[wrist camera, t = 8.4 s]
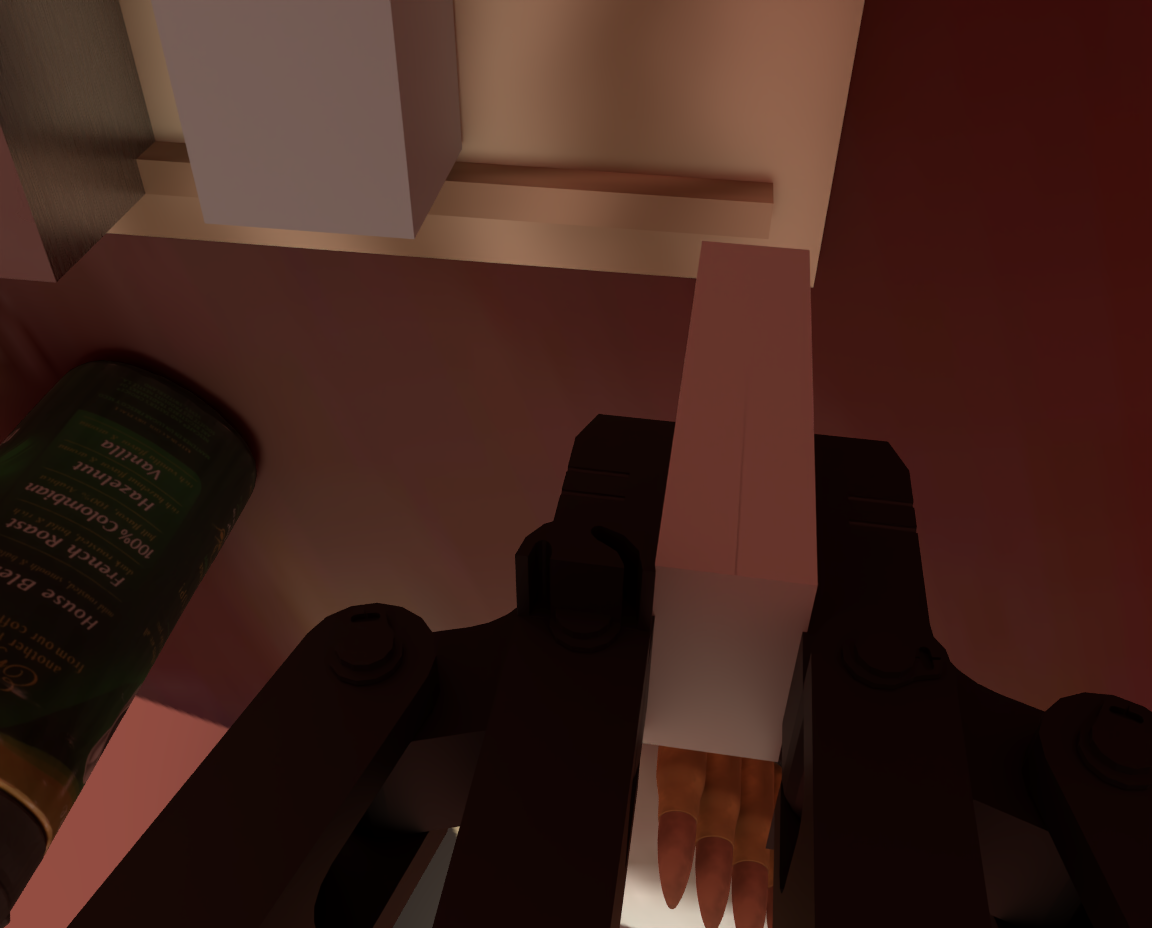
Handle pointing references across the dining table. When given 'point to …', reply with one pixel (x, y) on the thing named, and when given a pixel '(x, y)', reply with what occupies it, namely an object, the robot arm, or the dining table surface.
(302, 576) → the dining table surface
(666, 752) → the ammunition clip
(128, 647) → the coffee jar
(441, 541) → the dining table surface
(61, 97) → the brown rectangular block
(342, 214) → the grey rectangular block
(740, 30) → the board
